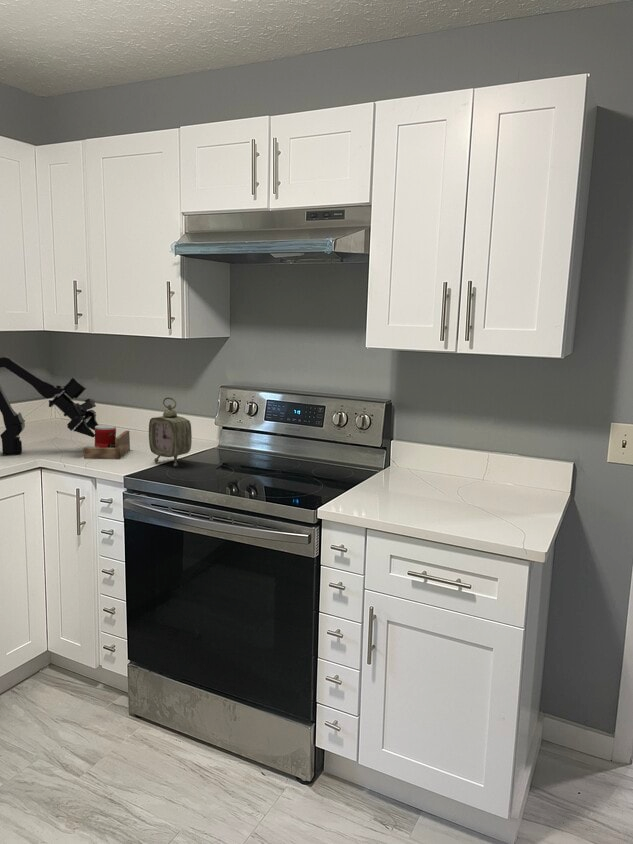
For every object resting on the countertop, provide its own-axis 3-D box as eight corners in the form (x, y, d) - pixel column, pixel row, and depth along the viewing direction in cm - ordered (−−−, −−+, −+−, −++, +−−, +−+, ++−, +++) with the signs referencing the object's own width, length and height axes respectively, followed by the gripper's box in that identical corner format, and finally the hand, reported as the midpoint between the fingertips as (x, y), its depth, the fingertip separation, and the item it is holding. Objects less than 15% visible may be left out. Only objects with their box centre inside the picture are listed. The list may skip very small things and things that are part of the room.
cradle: (84, 458, 245) (83, 438, 244) (96, 449, 261) (95, 430, 260) (119, 458, 246) (119, 438, 244) (129, 449, 262) (129, 430, 260)
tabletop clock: (149, 462, 241) (147, 396, 236) (167, 458, 248) (166, 394, 244) (175, 468, 232) (174, 400, 228) (194, 464, 240) (193, 398, 235)
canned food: (112, 456, 249) (112, 428, 248) (91, 455, 249) (91, 427, 248) (118, 452, 257) (118, 425, 255) (98, 451, 257) (98, 424, 255)
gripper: (73, 395, 244) (104, 424, 246) (89, 390, 262) (118, 416, 264) (54, 416, 245) (85, 444, 247) (71, 409, 263) (99, 435, 265)
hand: (97, 434), depth 256 cm, fingers open, 9 cm apart
